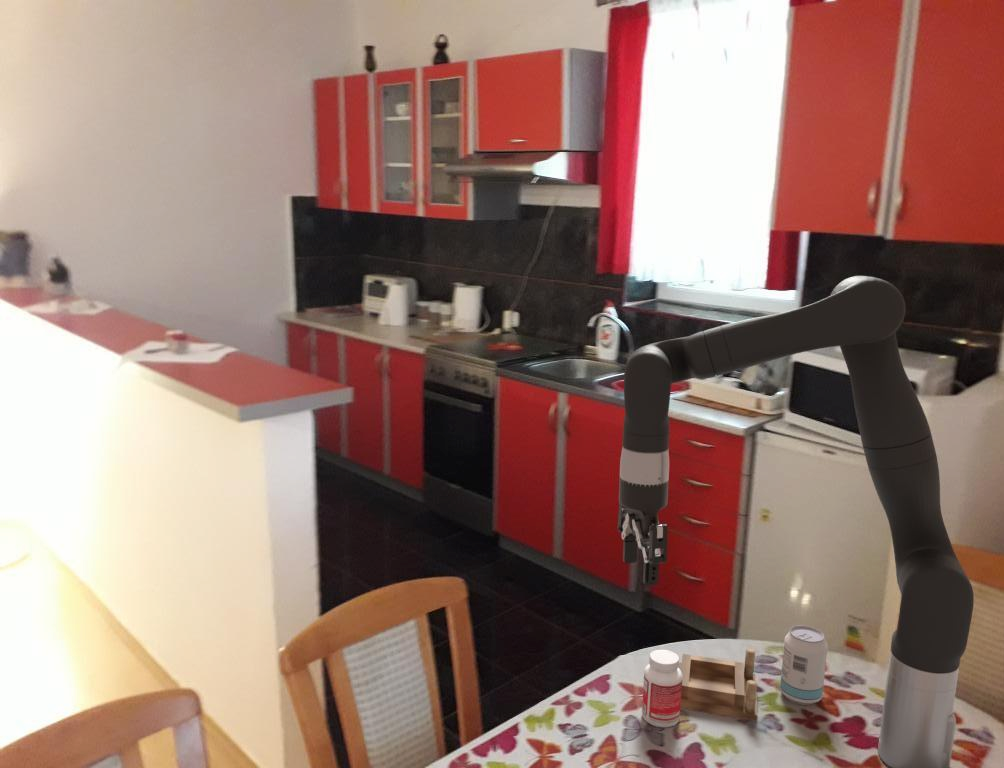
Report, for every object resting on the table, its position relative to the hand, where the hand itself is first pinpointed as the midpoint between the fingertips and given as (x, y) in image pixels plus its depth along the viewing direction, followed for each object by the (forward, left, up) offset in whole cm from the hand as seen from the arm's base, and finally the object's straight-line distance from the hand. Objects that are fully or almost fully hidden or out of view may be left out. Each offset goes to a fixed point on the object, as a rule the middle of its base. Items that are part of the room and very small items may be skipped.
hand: (639, 572), depth 131 cm
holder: (-12, -11, -25) cm, 30 cm away
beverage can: (-27, -14, -26) cm, 40 cm away
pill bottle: (-5, -1, -26) cm, 26 cm away
